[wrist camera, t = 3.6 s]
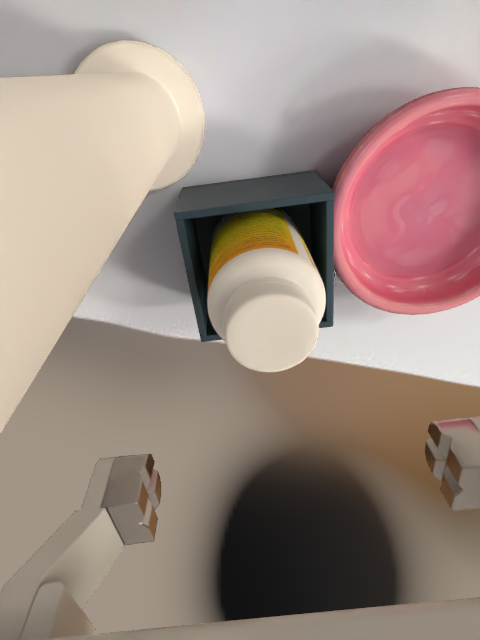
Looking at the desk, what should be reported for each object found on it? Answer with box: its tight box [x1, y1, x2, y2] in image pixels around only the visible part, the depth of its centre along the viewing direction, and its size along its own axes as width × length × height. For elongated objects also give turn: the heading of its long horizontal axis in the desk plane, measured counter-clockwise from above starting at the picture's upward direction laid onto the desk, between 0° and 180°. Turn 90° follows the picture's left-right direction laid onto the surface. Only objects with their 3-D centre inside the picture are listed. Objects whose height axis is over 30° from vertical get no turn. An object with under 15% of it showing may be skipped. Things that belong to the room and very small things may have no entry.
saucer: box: [332, 87, 480, 315], centre depth 23 cm, size 12×12×3 cm
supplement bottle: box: [207, 207, 326, 372], centre depth 21 cm, size 6×6×10 cm
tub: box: [174, 170, 334, 342], centre depth 23 cm, size 8×8×5 cm
